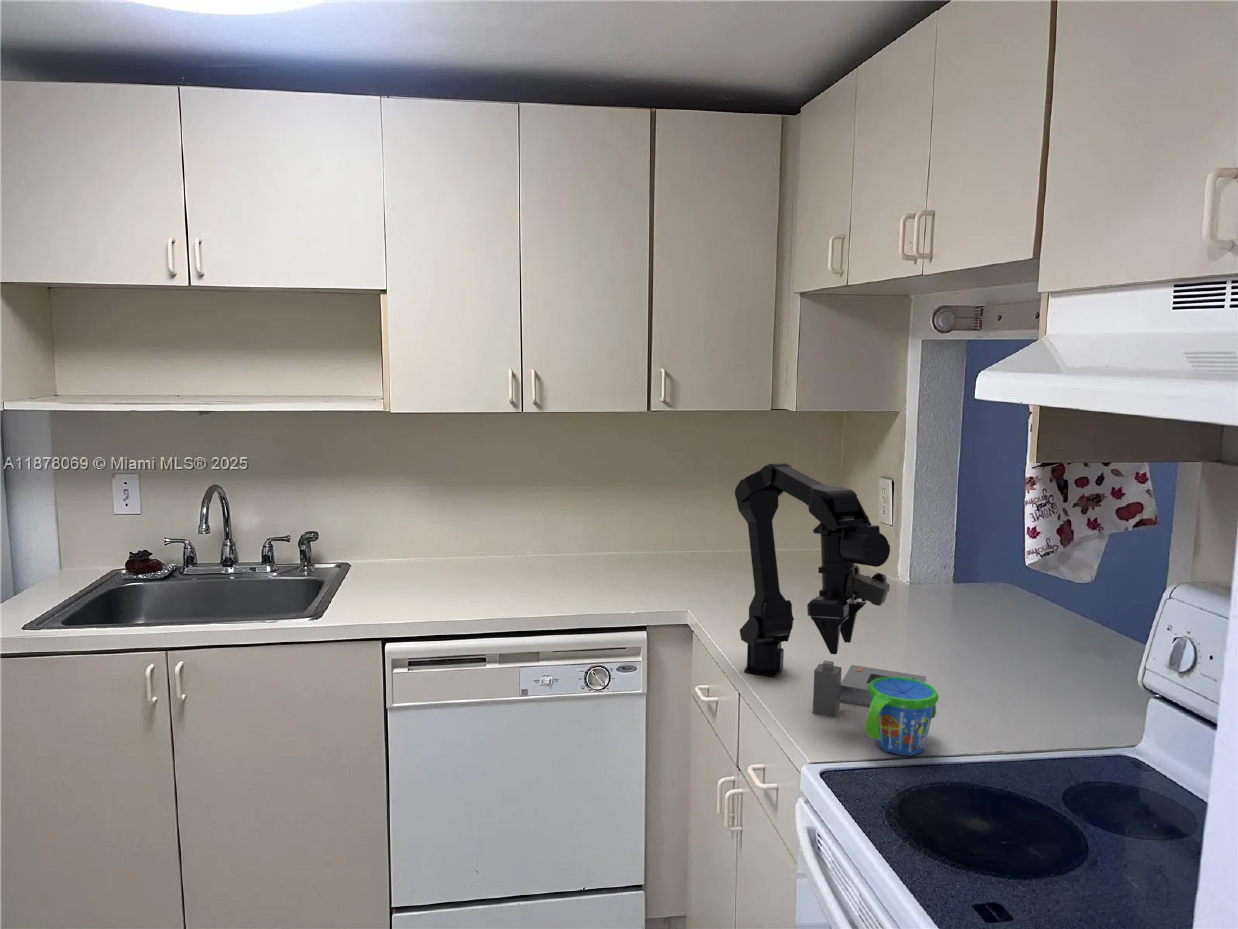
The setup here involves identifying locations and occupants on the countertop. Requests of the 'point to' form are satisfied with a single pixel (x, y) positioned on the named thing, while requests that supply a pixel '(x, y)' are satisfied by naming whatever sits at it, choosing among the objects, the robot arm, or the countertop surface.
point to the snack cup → (900, 714)
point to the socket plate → (866, 683)
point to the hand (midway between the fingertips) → (840, 648)
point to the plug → (827, 689)
